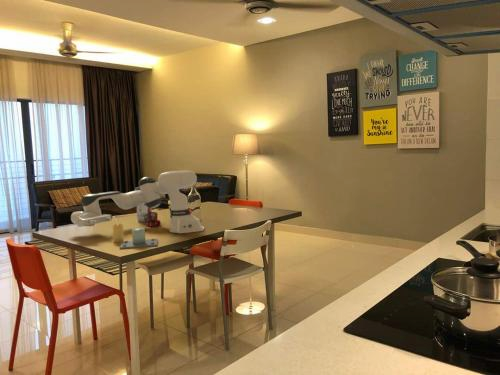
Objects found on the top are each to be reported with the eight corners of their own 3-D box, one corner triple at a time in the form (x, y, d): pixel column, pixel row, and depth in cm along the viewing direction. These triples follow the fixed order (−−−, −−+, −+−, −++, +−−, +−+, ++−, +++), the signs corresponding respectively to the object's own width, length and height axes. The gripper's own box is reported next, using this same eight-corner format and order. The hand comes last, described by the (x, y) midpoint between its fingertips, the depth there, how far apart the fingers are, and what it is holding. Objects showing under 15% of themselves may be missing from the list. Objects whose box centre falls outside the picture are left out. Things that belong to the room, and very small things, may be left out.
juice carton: (135, 222, 301) (133, 185, 298) (142, 219, 311) (140, 184, 308) (146, 222, 299) (144, 185, 296) (153, 219, 309) (151, 183, 306)
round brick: (124, 239, 245) (122, 222, 244) (123, 242, 240) (121, 224, 239) (114, 240, 244) (113, 223, 243) (113, 242, 239) (112, 225, 238)
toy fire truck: (153, 224, 291) (153, 209, 290) (162, 226, 281) (161, 211, 280) (144, 225, 286) (143, 211, 285) (152, 228, 277) (151, 213, 276)
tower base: (157, 240, 241) (156, 225, 240) (157, 246, 227) (156, 230, 226) (122, 243, 237) (121, 228, 236) (119, 249, 223) (118, 233, 222)
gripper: (104, 221, 264) (117, 222, 256) (75, 227, 247) (88, 229, 239) (103, 211, 263) (117, 212, 255) (74, 216, 246) (88, 218, 239)
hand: (103, 220), depth 247 cm, fingers open, 8 cm apart
